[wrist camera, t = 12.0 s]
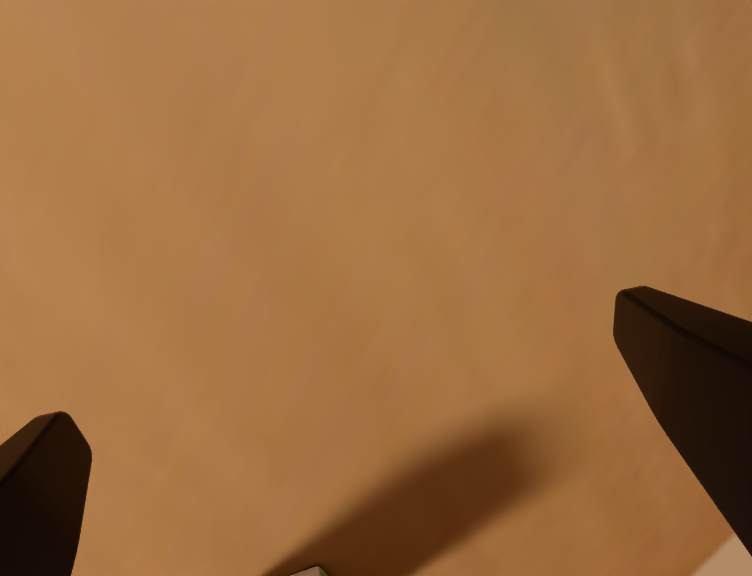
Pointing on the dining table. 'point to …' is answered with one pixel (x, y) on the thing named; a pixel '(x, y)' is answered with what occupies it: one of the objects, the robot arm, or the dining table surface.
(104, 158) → the dining table surface
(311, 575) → the syrup box
